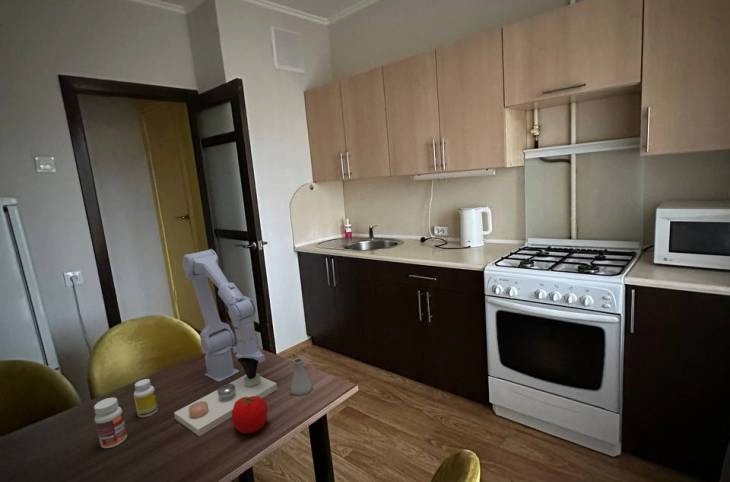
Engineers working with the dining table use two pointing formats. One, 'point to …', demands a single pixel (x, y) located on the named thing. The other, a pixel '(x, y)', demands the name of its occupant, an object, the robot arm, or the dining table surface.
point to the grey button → (226, 390)
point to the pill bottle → (110, 423)
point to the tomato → (249, 414)
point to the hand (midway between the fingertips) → (252, 377)
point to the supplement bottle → (145, 398)
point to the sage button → (252, 380)
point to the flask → (300, 379)
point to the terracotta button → (198, 409)
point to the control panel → (222, 405)
